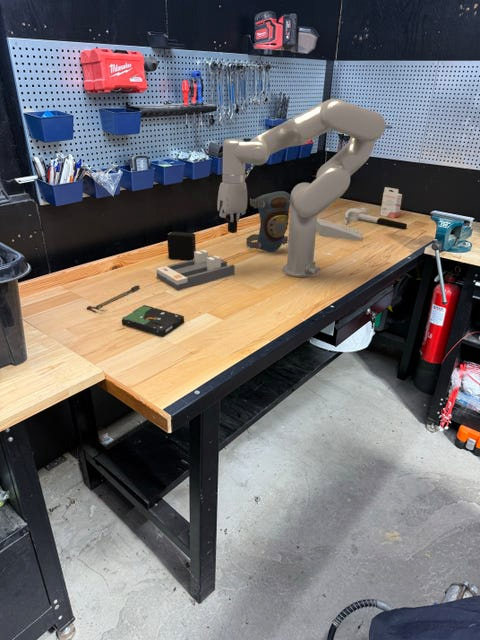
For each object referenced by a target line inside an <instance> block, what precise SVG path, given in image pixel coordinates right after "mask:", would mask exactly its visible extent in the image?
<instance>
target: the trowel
mask: <svg viewBox="0 0 480 640" xmlns="http://www.w3.org/2000/svg"><path fill="white" fill-rule="evenodd" d="M317 232H318V233H317ZM316 233H317V234H318V235H319V236H320V237H327V238H336V239H343V240H351V241H357V242H358V241H359V242H362V241H363V237H362V234H361V232H360V230H359V229H357V228H353V227H350V226H347V225H343V224H339V223H334V222H330V221H328V220H325V219H322V218H318V217H317V227H316Z"/></svg>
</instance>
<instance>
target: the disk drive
mask: <svg viewBox="0 0 480 640" xmlns="http://www.w3.org/2000/svg"><path fill="white" fill-rule="evenodd" d="M121 324H122V326H125V327H128V328H131V329H135V330H138V331H141V332H144V333H148V334H151V335H155V336H157V337H161V338H165V337H166V336H167V335H169V334H170V333H172V332H174V331H175V330H176V329H178V327H180V326H181V325H183V324H185V316H184V315H181V314H178V313H175V312H172V311H167V310H164V309H161V308H157V307H153V306H151V305H150V306H149V305H146V304H144V305H142V306H140V307H138V308H136V309H134V310H132V312H130V313H128V314H127V315H125V316H123V317H122V319H121Z"/></svg>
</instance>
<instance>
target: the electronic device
mask: <svg viewBox="0 0 480 640" xmlns="http://www.w3.org/2000/svg"><path fill="white" fill-rule="evenodd" d="M166 237H167V238H166V239H167V253H168V259H169V260H175V261H184V262H185V261H190V260H194V252H195V251H197V250H196V249H197V248H196V234H195V233H194V232H182V231H171V232H169V233H167V236H166Z"/></svg>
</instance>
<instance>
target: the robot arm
mask: <svg viewBox="0 0 480 640" xmlns="http://www.w3.org/2000/svg"><path fill="white" fill-rule="evenodd" d="M331 130H332V131H334V132H337V133H339V134H342V135H346V136H348V137H350V138H349V140H348V142H347V143H346V144H345V145H344V146H343V148H341V149H340V150H339V151H338V152H337V153H336V154H334V155H333V156H332V157H331V158H330V159H329V160H328V161H326V162H325V163H324V164H322V165H321V166H320V168H318V169H317V172H316V178H315V179H314V180H313V181H312V182H311V183H310V182H301V183H298V184H296V185H295V186H294V187H293V189H292V190H291V193H290V207H289V222H288V225H289V226H288V241H287V260H286V264H284V265H283V266H282V269H281V270H282V272H283V273H284V274H286V275H288V276H291V277H296V278H308V277H312V276H316V275H317V274H318V273H319V272H320V270H321V268H320V266H319V267H318V266H316V261H314V260H315V259H314V257H315V248H316V235H317V231H316V227H317V218H318V215H320V214H321V213H322V212H323V211H325V210H326V209H328V208H329V207H330V206H332V204H333V203H334V202H336V201H337V200H338V199H339V198H341V197H342V196H343V195H344V193H345V192H346V191H347V190H348V189H349V187H350V183H351V176H352V175H354V173H355V172H357V171H358V170H359V169H360V168H361V167H362V166H363V165H364V164H365V163H366V162H367V161H368V160H369V158H370V157H371V155H372V152H373V150H374V148H375V144H376V141H378V140H379V139H380V138H381V137H382V136H383V135H384V133H385V131H386V120H385V118H384V116H383V115H382V114H380V112H377V111H373V110H372V109H371V110H370V109H367V108H365V107H361V106H359V105H356V104H352V103H350V102H347V101H344V100H342V99H340V98H339V99H337V98H330V99H327V100H325V101H323V102H321V103H319V104H317V105H315V106H313V107H311V108H310V109H307V110H306V111H304V112H302V113H301V114H298V115H296V116H294V117H292V118H291V119H288V120H286V121H284V122H283V123H281V124H279V125H276V126H274V127H272V128H270V129H269V130H268V129H267V131H265V132H263V133H260V134H259V135H257V136H256V137H253V138H252V139H250V140H249V141H245V140H243V139H239V138H229V139H225V140H224V141H223V144H222V182H220V185H219V186H218V187H219V188H218V193H217V194H218V195H217V204H216V205H217V211H218V212H219V217H220V218H221V219H222V218H224V219H225V220H226V221H227V231H228V233H231V234H237V233H238V222H239V221H240V218H241V216H243V215H246V212H247V211H246V210H247V209H248V188H247V183H246V182H245V181H246V179H247V178H248V175H247V174H246V164H248V165H254V166H262V165H264V164H266V163H267V162H268V160H269V158H270V155H273V154H275V153H277V152H279V151H282V150H284V149H287V148H290V147H298V146H301V145H303V144H306V143H308V142H309V141H311V140H313V139H315V138H317V137H319V136H321V135H324V134H325V133H327V132H329V131H331Z"/></svg>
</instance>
